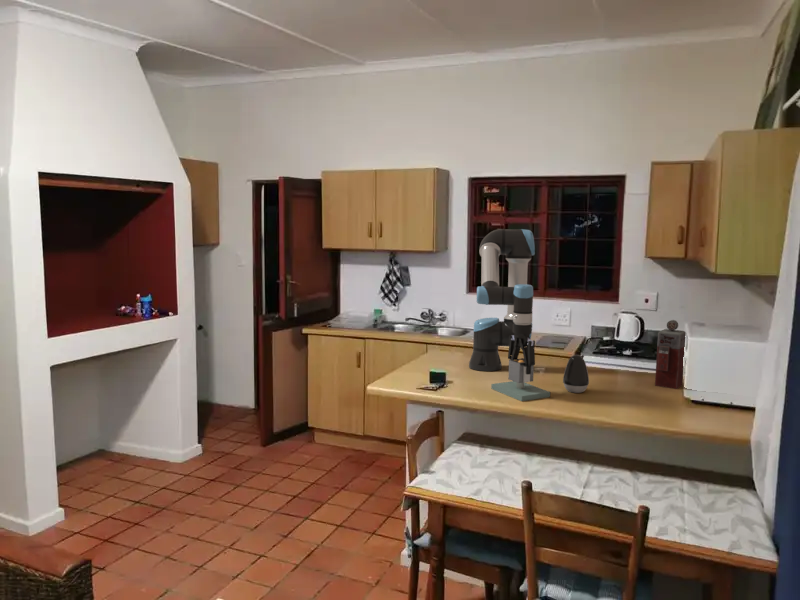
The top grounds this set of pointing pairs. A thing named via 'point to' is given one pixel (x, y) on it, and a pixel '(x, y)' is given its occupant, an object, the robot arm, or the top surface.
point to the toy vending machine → (670, 356)
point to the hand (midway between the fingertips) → (520, 379)
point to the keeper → (520, 390)
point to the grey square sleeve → (518, 370)
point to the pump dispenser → (576, 375)
